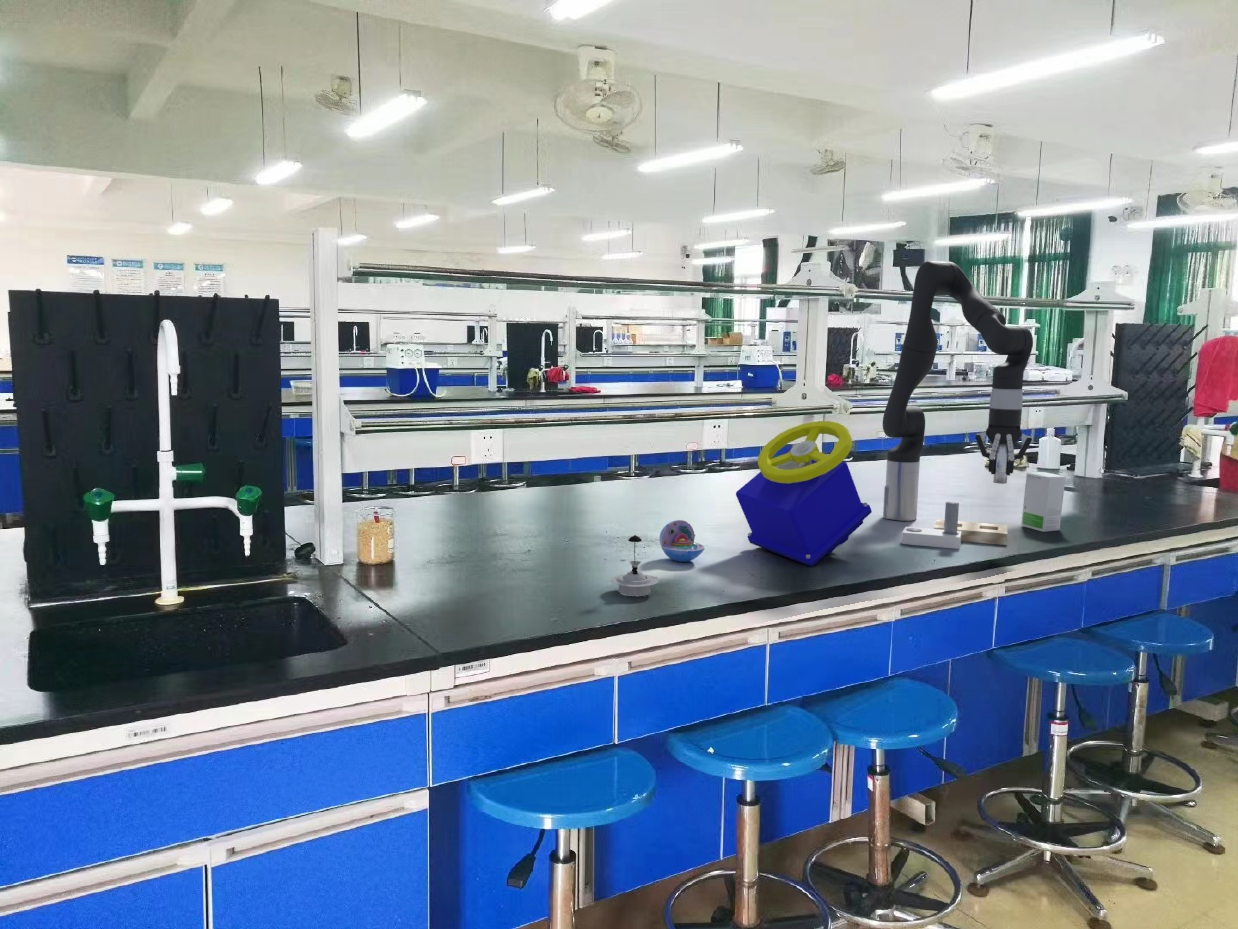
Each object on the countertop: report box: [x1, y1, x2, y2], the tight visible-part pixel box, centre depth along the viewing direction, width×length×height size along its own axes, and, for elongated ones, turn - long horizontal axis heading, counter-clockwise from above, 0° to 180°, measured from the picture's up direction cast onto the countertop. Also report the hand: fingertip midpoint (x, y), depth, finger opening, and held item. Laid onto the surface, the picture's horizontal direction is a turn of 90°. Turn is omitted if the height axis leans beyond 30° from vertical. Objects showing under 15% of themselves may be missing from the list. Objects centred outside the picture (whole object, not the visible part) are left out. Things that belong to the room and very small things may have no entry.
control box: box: [735, 420, 873, 568], centre depth 217 cm, size 26×27×30 cm
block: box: [901, 501, 962, 550], centre depth 234 cm, size 14×8×11 cm, turn 67°
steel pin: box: [992, 444, 1009, 485], centre depth 229 cm, size 3×3×10 cm
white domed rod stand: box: [610, 534, 660, 595], centre depth 186 cm, size 12×10×10 cm
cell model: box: [658, 519, 705, 563], centre depth 213 cm, size 10×12×10 cm
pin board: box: [933, 519, 1008, 546], centre depth 242 cm, size 18×12×3 cm, turn 67°
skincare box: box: [1020, 471, 1066, 533], centre depth 253 cm, size 8×7×16 cm
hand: (1000, 474), depth 229 cm, fingers closed on steel pin, 3 cm apart
